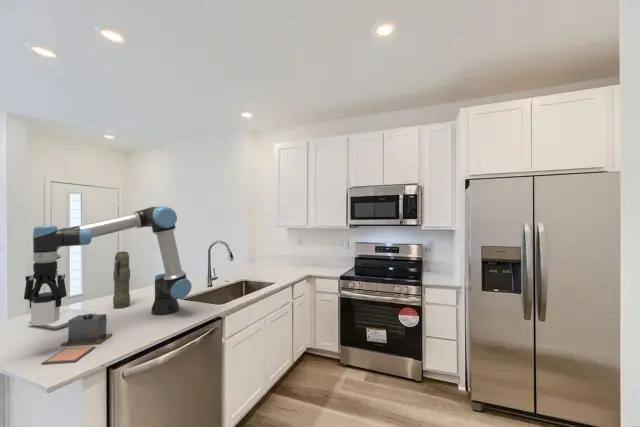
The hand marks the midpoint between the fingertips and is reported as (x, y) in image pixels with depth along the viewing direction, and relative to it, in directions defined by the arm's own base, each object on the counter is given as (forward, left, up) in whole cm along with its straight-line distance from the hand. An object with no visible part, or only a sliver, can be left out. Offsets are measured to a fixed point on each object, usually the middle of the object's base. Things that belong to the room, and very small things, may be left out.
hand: (45, 314), depth 125 cm
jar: (0, 0, -3) cm, 3 cm away
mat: (-13, +5, -16) cm, 21 cm away
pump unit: (-11, -10, -16) cm, 22 cm away
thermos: (0, -63, -16) cm, 65 cm away
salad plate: (+17, -38, -17) cm, 45 cm away
